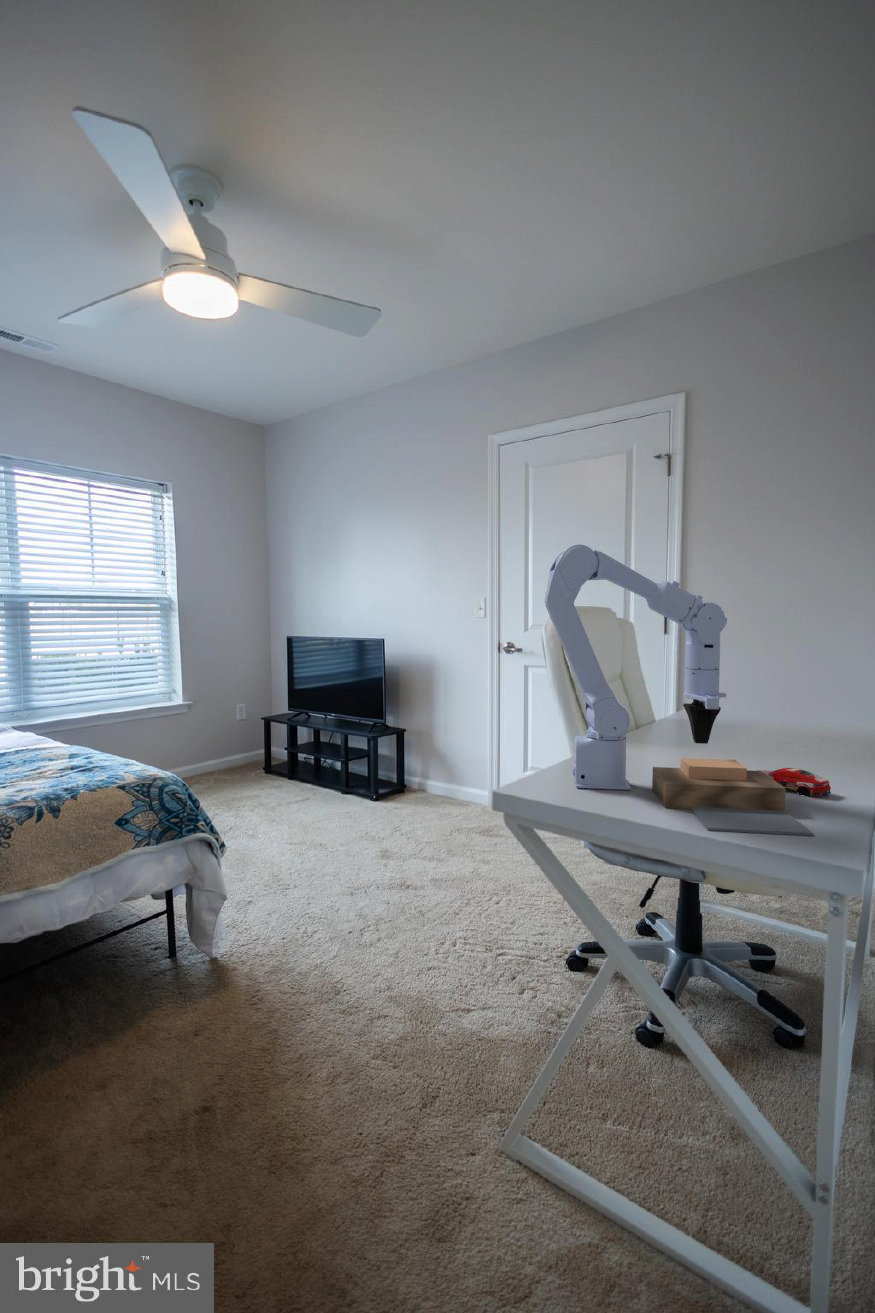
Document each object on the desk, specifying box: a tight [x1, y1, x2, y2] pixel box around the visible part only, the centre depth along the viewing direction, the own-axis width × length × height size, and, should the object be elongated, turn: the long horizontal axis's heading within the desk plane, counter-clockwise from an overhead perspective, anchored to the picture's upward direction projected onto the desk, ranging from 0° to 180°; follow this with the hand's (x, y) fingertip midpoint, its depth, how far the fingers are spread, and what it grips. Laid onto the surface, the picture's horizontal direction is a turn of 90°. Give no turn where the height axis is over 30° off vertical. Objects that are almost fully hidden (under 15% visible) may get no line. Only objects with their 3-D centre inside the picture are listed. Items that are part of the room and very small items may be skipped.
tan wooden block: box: [679, 757, 748, 780], centre depth 104 cm, size 9×6×2 cm, turn 81°
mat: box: [690, 807, 814, 837], centre depth 92 cm, size 14×10×1 cm
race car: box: [757, 767, 832, 797], centre depth 109 cm, size 13×5×4 cm, turn 38°
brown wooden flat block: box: [651, 766, 786, 811], centre depth 102 cm, size 18×11×4 cm, turn 81°
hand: (700, 742), depth 111 cm, fingers closed
